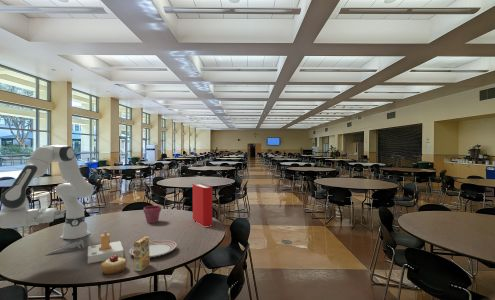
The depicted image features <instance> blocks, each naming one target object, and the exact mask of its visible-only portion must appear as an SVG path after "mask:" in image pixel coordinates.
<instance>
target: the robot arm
mask: <svg viewBox="0 0 495 300" xmlns="http://www.w3.org/2000/svg"><path fill="white" fill-rule="evenodd" d="M76 157H77V156H76V155H75V150H74V149H73V147H72V146H70V145H67V144H63V145H61V144H52V145H42V146H38V147H36V148H35V150H34V151H33V152H32V153H31V155H30V156H29V158H28V159H27V161H26V162H25V165H24V167H23V169H22V170H21V171H20V173H19V175H18V176H17V178H16V179H15V180H14V182H13V183H12V184H11V185H10V186H9V188H7V189H6V190H5V191H3V193H2V194H1V195H0V203H1V205H3V207H2V209H1V210H0V228H1V229H13V228H19V227H23V226H24V227H25V226H26V227H30V226H38V225H39V224H45V223H52V222H54V220H57V219H61V218H64V217H65V224H64V225H63V226H62V235H60V236H59V239H60V240H61V239H62V240H64V239H65V240H74V239H81V238H84V237H86V236H90V235H91V232H90V230H88V222H86V218H85V217H86V216H85V205H84V204H83V203H82V202H80V201H79V199H84V198H85V199H86V198H89V197H91V196H92V195H93V194H94V191H95V188H94V185H93V184H91V183H90V182H88V181H87V180H86V179H85V177H84V176H83V175H82V173H81V171H80V168H79V164H78V160H77V158H76ZM56 162H57V163H58V168H59V171H60V175H61V178H62V179H63V180H65V182H63V183H59V184H58V185H57V186H56V188H55V195H56V196H57V197H59V198H60V199H61V200H62V202H63V204H64V207H65V209H63V210H62V209H57V208H56V207H50V208H49V207H46V208H41V207H37V208H30V209H29V206H30V202H29V199H28V198H27V197H28V196H26V190H27V189H28V187H29V185H30V184H31V182H32V180H33V179H34V178H39V177H43V176H44V175H45V174H46V172H47V171H48V169H49V168H50V165H51V163H56ZM66 181H67V182H66Z"/></svg>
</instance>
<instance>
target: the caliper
mask: <svg viewBox="0 0 495 300" xmlns="http://www.w3.org/2000/svg"><path fill="white" fill-rule="evenodd" d="M81 245H82V246H81ZM76 247H78V248H79V250H81V249H82V248H83V249H84V248H85V242H84V240H83V239H81V238H80V239H79V240H78V241H75V242H73V243H70V244H69V245H66V246H63V247H60V248H57V249H54V250H50V251H48V252H46V253H45V254H44V256H49V255H53V254H55V253H58V252H62V251H65V250H67V249H73V248H76ZM81 247H82V248H81Z"/></svg>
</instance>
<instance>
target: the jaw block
mask: <svg viewBox="0 0 495 300" xmlns="http://www.w3.org/2000/svg"><path fill="white" fill-rule="evenodd" d="M110 240H111V237H110V232H108V233H107V230H105V231H103V233H102V234H101V233H100V244H101V251H102V250H108V249H110V243H111V241H110Z"/></svg>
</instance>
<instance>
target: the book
mask: <svg viewBox="0 0 495 300" xmlns="http://www.w3.org/2000/svg"><path fill="white" fill-rule="evenodd" d="M193 219H194V220H195V221H197V222H198V223H200V224H201V225H203V226H210V225H212V226H213V186H211V185H207V184H204V183H199V184H194V183H193V184H192V220H193ZM195 221H194V222H195ZM198 223H197V224H198Z"/></svg>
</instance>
